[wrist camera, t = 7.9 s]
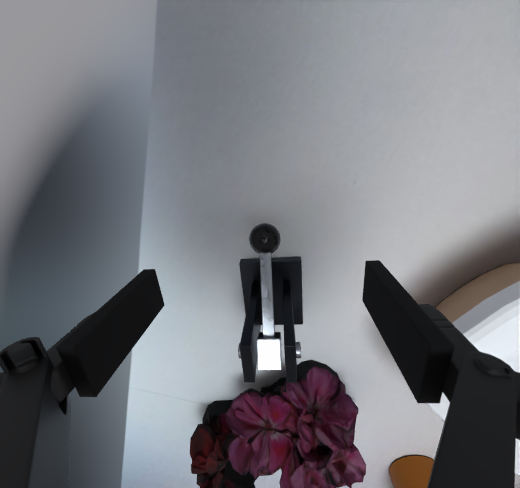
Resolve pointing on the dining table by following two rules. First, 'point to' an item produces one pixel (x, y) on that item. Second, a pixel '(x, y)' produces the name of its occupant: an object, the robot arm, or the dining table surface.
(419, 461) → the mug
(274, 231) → the flush lever
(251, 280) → the lever bracket
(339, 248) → the dining table surface
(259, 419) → the flower arrangement
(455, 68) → the dining table surface
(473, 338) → the bowl
